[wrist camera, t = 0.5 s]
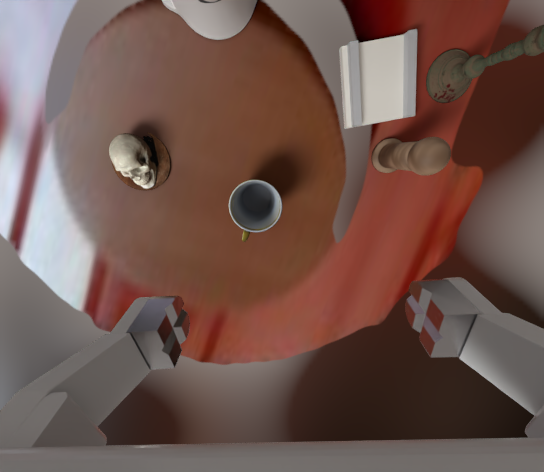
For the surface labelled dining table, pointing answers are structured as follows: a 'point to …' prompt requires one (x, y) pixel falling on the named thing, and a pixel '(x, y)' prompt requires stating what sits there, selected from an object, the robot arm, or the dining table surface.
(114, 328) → the robot arm
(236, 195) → the ceramic cup
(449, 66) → the candlestick holder
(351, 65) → the tray
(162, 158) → the skull
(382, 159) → the tan wooden upright piece
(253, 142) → the dining table surface
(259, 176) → the dining table surface
